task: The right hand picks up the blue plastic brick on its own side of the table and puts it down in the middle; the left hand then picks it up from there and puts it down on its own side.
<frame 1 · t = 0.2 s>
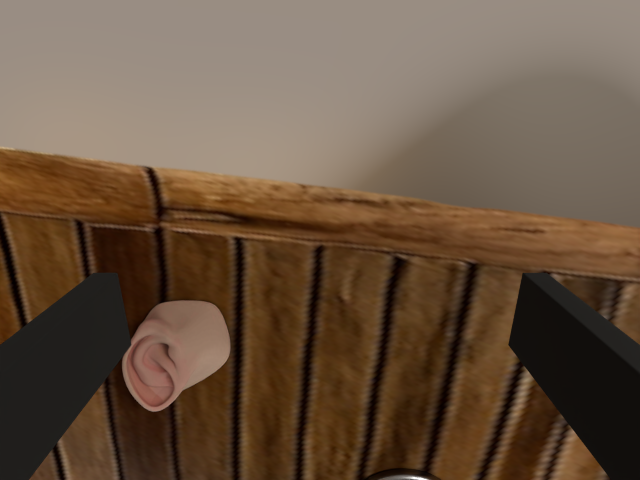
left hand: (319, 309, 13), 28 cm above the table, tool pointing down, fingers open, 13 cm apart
anatomical model: (181, 343, 46), on the table
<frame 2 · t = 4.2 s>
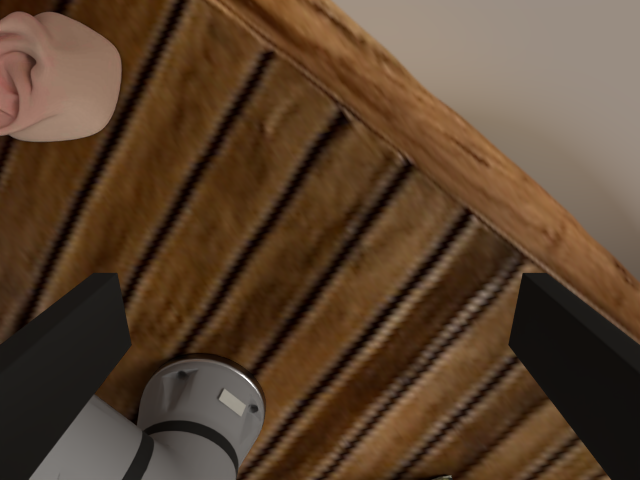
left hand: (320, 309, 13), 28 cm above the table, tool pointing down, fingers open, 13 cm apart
anatomical model: (54, 81, 36), on the table
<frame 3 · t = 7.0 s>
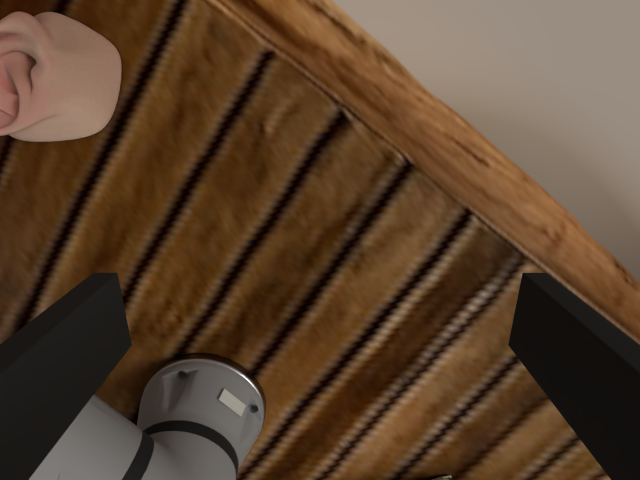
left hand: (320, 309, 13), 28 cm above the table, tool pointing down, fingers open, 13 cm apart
anatomical model: (54, 81, 36), on the table
when the right hand's fingers open (3 cm above the table, at t = 10.0 s): brick drops 1 cm, on the table.
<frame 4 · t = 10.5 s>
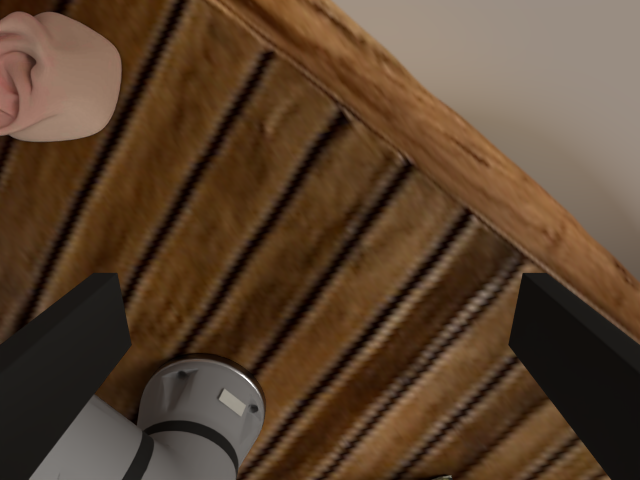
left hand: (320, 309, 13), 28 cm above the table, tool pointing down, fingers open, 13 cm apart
anatomical model: (54, 81, 36), on the table
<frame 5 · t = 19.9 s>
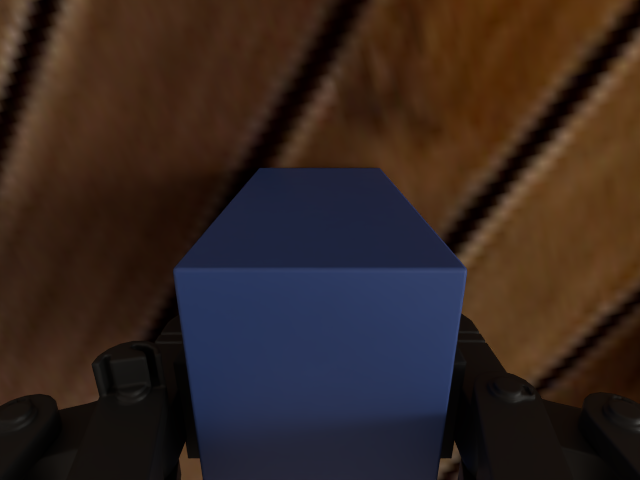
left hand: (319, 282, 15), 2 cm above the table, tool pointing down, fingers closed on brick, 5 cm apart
brick: (319, 262, 16), on the table, touching left hand
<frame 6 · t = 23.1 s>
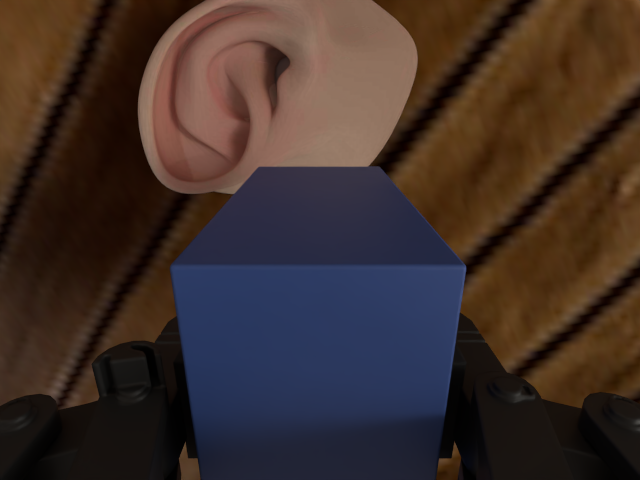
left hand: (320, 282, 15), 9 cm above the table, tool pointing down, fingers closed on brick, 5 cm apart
brick: (318, 261, 16), point 8 cm above the table, touching left hand
anatomical model: (286, 95, 21), on the table
when the left hand's fingers open (3 cm above the table, at t = 26.6 s): brick drops 1 cm, on the table.
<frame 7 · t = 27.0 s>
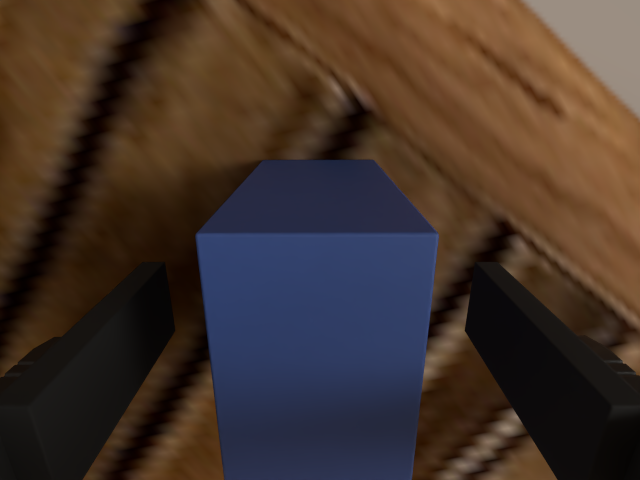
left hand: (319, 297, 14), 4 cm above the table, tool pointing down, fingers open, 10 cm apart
brick: (318, 248, 17), on the table
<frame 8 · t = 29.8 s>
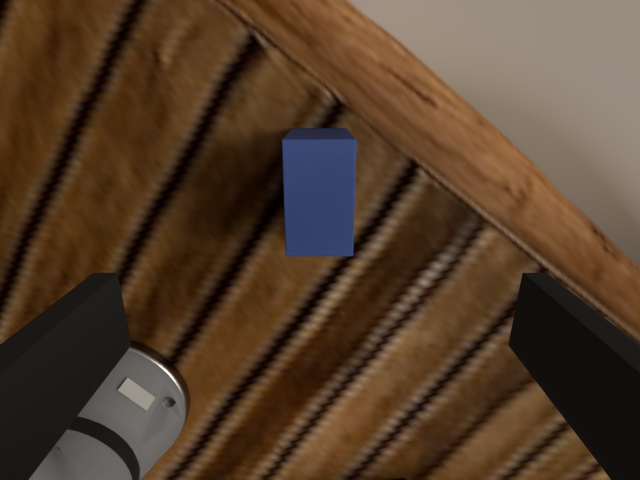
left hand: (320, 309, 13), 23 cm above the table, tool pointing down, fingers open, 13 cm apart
brick: (319, 174, 34), on the table
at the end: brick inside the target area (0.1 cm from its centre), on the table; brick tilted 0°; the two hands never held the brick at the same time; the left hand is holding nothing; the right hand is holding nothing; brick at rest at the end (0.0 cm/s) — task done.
